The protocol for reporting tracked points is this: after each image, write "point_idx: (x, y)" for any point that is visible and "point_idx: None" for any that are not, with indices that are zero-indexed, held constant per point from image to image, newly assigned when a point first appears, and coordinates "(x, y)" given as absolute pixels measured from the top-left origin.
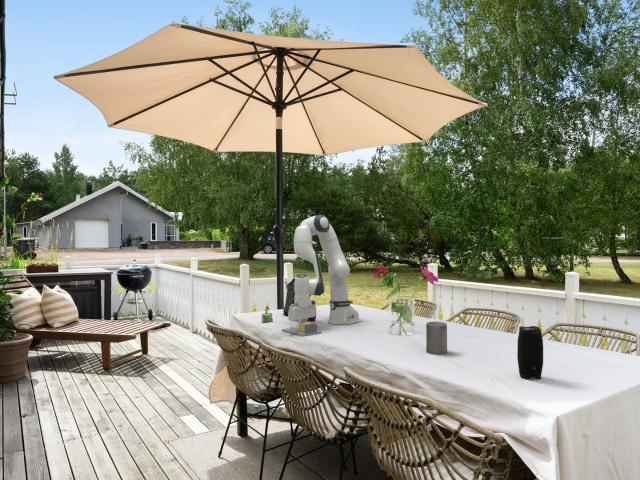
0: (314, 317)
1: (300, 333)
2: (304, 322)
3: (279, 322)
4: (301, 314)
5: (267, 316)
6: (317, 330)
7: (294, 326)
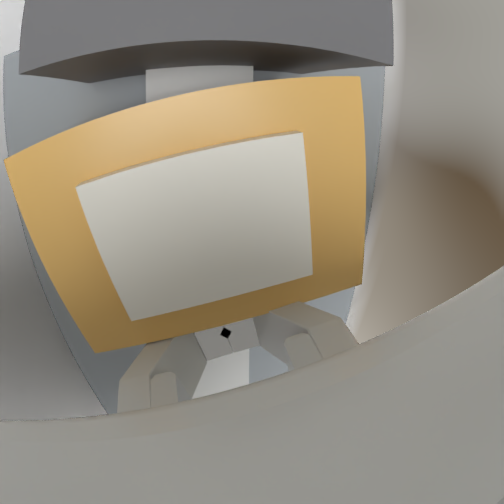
0: None
1: (365, 91)
2: (239, 281)
3: None
4: (462, 457)
5: None
6: (20, 134)
7: None
